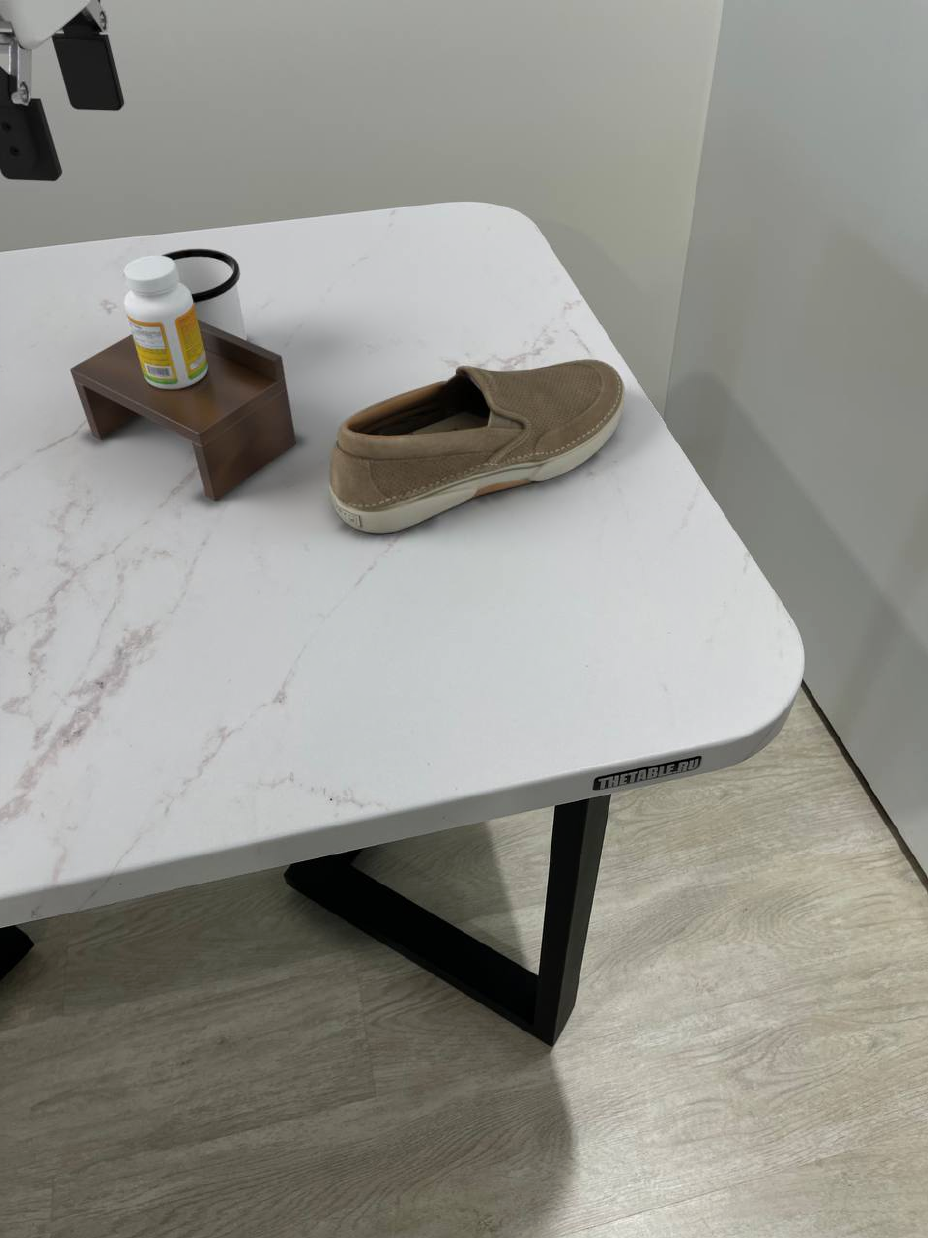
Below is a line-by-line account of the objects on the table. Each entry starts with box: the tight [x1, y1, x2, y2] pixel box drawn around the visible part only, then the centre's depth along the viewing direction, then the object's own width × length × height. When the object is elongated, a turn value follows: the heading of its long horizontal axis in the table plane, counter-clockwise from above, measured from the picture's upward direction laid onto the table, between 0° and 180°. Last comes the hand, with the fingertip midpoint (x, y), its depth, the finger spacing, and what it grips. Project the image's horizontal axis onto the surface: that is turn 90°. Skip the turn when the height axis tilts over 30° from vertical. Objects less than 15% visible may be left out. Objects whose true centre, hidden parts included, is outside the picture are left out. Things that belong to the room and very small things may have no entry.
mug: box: [160, 248, 248, 341], centre depth 99 cm, size 12×10×9 cm
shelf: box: [69, 319, 297, 502], centre depth 89 cm, size 10×16×9 cm, turn 54°
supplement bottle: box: [123, 255, 207, 389], centre depth 83 cm, size 5×5×10 cm
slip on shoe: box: [328, 358, 626, 534], centre depth 86 cm, size 30×11×9 cm, turn 121°
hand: (68, 140), depth 58 cm, fingers open, 9 cm apart
